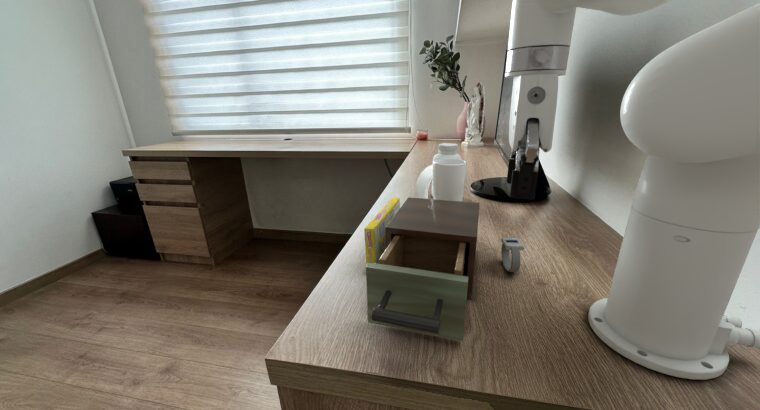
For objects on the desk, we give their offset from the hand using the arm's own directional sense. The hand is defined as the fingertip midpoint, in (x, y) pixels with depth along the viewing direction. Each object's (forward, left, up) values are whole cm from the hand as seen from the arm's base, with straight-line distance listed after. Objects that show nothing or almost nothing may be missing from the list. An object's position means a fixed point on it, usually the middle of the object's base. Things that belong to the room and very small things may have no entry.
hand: (519, 189), depth 48 cm
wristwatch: (0, 0, -14) cm, 14 cm away
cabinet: (+12, +3, -14) cm, 19 cm away
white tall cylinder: (+12, -14, -14) cm, 23 cm away
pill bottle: (+15, -38, -14) cm, 43 cm away
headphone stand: (+17, -23, -14) cm, 32 cm away
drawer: (+12, +16, -13) cm, 24 cm away
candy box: (+22, 0, -14) cm, 26 cm away
